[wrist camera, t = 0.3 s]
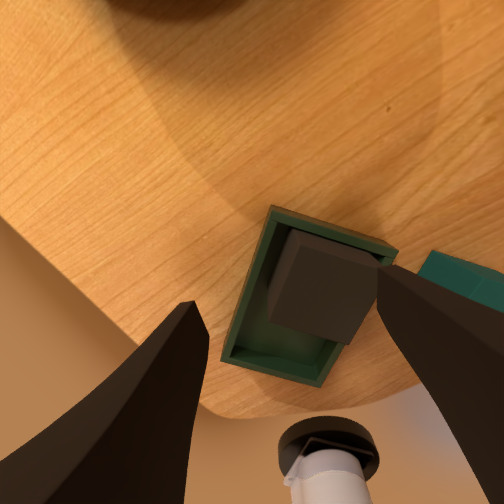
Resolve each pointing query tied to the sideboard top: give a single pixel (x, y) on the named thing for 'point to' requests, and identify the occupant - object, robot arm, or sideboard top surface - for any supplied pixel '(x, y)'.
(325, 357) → the frame
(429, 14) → the sideboard top surface
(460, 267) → the teal green block
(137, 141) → the sideboard top surface
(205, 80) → the sideboard top surface
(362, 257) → the dark brown block
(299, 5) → the sideboard top surface
